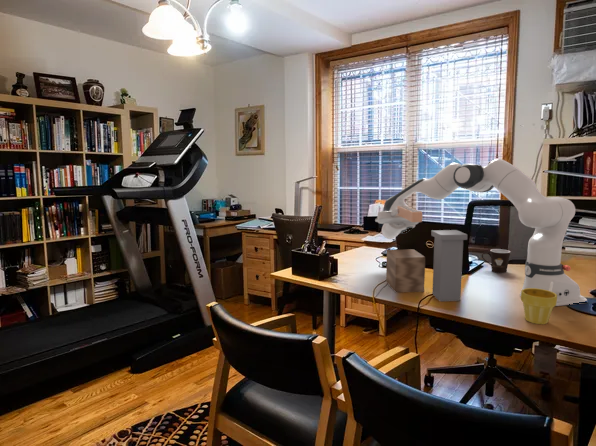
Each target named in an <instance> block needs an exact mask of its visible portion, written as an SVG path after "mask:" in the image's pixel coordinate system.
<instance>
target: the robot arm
mask: <svg viewBox="0 0 596 446" xmlns="http://www.w3.org/2000/svg"><path fill="white" fill-rule="evenodd" d="M458 188H461V189H464V190H468V191H470V192H475V193H487V192H490V191H492V190H493V189H494V188H495V189H496V190H497V191H499V192H500V193H501V195H503V196H504V197H505V198H506V199H507V200H508V201H510V202H511V204H513V206H514V207H515V208H516V211H517V212H518V214H517V215H518V219H519V221H520V223H521V224H523V226H525V227H528V228H532V229H534V232H533V234H532V236H531V237H530V238H529V240H528V244H527V256H526V260H525V263H524V275H525V276H524V280H523V283H522V284H523V285H522V288H521V290H520V293H519V296H520V297H521V291H522V290H523V289H526V288H538V289H544V290H548V291H551V292H554V293H555V294H556V295H557V302H556V306H555V307H560V306H568V305H569V304H570V305H574V304H573V303H579V302H585V301H587V302H588V299H587V298H586V297H585V296H583V295H581V290H580V289H581V288H580V285H579V284H578V283H577V282H576V281H575V280H574V279H572V278H571V277H570V276H568V275H567V274H566V273H565V271H566V272H570V271H571V269H572V268H571V266H570V265H568V264H562V263H561V259H562V249H563V248H562V247H563V243H564V239H565V237H566V233H567V231H568V228H569V224H570V222H571V220H572V219H573V218H574V217H575V214H576V206H575V204H574V203H573V202H572V200H570V199H567V198H565V197H560V196H551V197H547V196H545V195H543V194H542V193H541V192H540V191H539V190H538V188H537V184H536V182H535V181H534V180H533V179H532V178H531V177H529V176H528V175H527V174H526V173H524V172H523V171H522V170H520V169H519V168H518V167H516V166H515V165H513V164H511V163H510V162H508V161H507V160H505V159H501V158H497V159H493V160H492V161H490V162H489V163H488V164H486V166H482V165H481V164H475V163H462V164H461V163H458V162H450V164H447V166H445V167H443V168H442V169H441V170H440V171H438V172H437V173H436V174H435V175H433V176H432V177H430V178H425V177H423V178H421V179H418V180H417V181H414V182H413V183H411V184H410V185H408V186H406V188H404V189H403V190H401V191H399V192H398V193H396V194H395V195H393V196H390V197H389V198H388V199H386V201H385V202H384V209H383V210H380V211H379V212H377V217H376V218H375V220H374V221H375V223H378V224H379V225H380V224H381V225H382V227H381V234H382V236H383V237H384V238H386V239H387V240H392V239H395V238H396V237H398V235H400V234H404V233H403V232H405V231H407V229H409V228H412V229H414V228H415V227H416V225H418V224H419V223H420V222H411V221H409V220H407V219H405V218H403V217H401V216H398V215H397V214H399V209H397V206H408V204H407V203H406V202H405V199H407V198H408V197H410V196H412V195H413V194H414V193H421V194H422V195H425V196H426V197H428V198H431V199H433V200H440V201H441V200H444V199H445V198H447V197H449V196H450V195H451V194H452V193H454V192H455V191H456V190H457V189H458ZM420 211H421V212H422V210H420ZM422 213H423V212H422ZM423 218H424V215H423V214H422V219H423ZM579 304H580V303H579Z"/></svg>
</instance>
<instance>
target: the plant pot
mask: <svg viewBox="0 0 596 446" xmlns="http://www.w3.org/2000/svg"><path fill="white" fill-rule="evenodd" d="M521 290H522V289H521ZM521 290H520V293H521V296H520V300H521V302H522V304H523V310H524V311H523V313H524V318H525V319H524V320H526V321H527V322H529V323H532V324H535V325H546V324H548V323H549V320H550V318H551V315H552V312H553V309H554V307H557V306H556V302H557V295H556V294H555V293H554V292H551V291H548V290H544V289H538V288H526V289H523V290H522V291H521Z"/></svg>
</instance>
